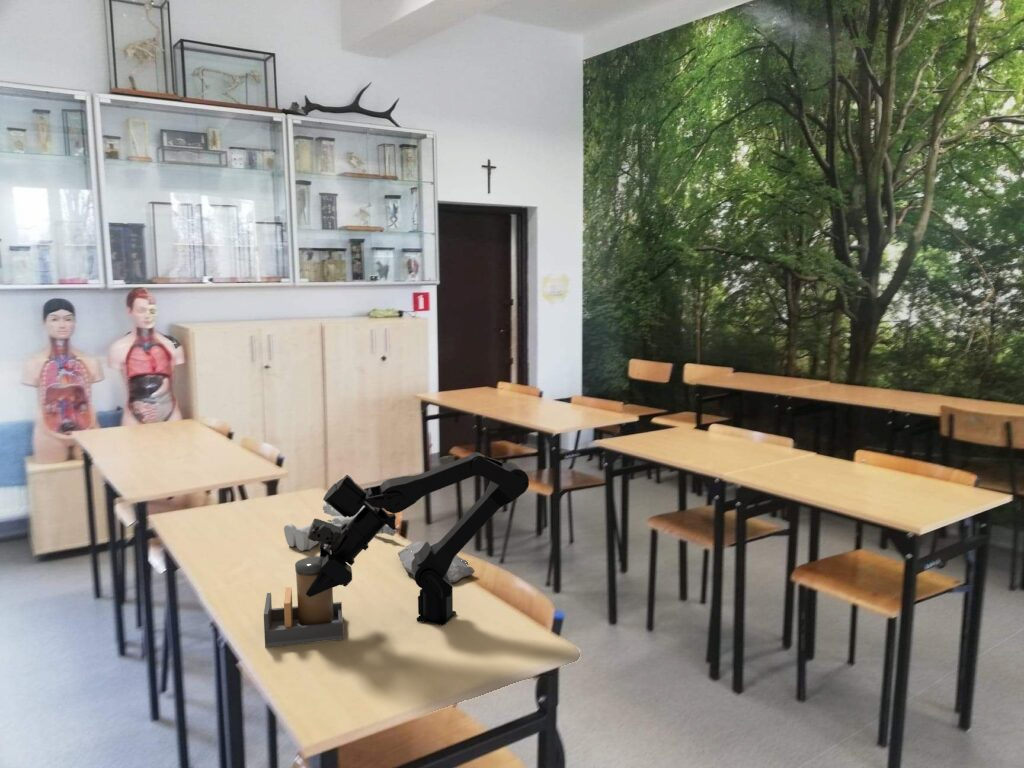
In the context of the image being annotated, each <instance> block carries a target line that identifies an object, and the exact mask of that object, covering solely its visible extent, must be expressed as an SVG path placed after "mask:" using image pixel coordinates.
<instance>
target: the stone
mask: <svg viewBox="0 0 1024 768" xmlns="http://www.w3.org/2000/svg"><path fill="white" fill-rule="evenodd" d="M426 542H427V541H422V540H421V541H420V540H419V541H417V540H416V541H412V542H411V543H409V544H407V545H406V546H405V547H404V548H403V549H401V550H400V551H398V552H397V555H398V557H399V560H400V562H401V564H402V565H403V569H404V570H406V571H407V572H408V573H410V574H411V575H413V573H412V569H411V565H412V564H411V563H412V561H413V559H414V558H415V557H414V554H415V553H417V552H418V551H419V550H420V549H421V548H422V547H423V545H424V544H425V543H426ZM429 544H430V545H431V546H432V545H433V544H431V543H429ZM411 551H412V552H411ZM461 560H462V561H461ZM466 560H467V559H463V558H461V557H460V556H458V554H457V555H456V556H455V557H454V559H453V561H452V563H451V565H450V567H449V570H448V572H447V575H448V578H449V580H450V582H451V583H456V582H458V581H459V580H461V579H463V578H464V577H468V576H471V575H474V573H475V572H476V570H475V569H474V568H473V567H472V566H469V564H468V562H467V561H468V560H467V561H466ZM465 562H466V563H465ZM466 564H467V565H466Z"/></svg>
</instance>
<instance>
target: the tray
mask: <svg viewBox="0 0 1024 768" xmlns="http://www.w3.org/2000/svg"><path fill="white" fill-rule="evenodd" d="M342 604H343V603H342V602H340V601H339V602H338V601H337V602H336V601H335V602H333V610H334V620H333V621H332V622H331V623H325V624H315V625H306V626H301V625H300V624H299V619H298V605H295V606H292V609H293V625H292V627H286V628H285V617H284V607H274V608H273V607H272V606H273V605H272V592H266V597H265V604H264V609H263V628H264V629H263V630H264V646H265V647H264V648H273V647H281V646H282V647H283V646H291V645H301V644H302V645H303V644H312V643H320V642H329V641H337V640H338V641H339V640H344V622H343V609H342V608H343V607H342V606H343V605H342Z"/></svg>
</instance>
